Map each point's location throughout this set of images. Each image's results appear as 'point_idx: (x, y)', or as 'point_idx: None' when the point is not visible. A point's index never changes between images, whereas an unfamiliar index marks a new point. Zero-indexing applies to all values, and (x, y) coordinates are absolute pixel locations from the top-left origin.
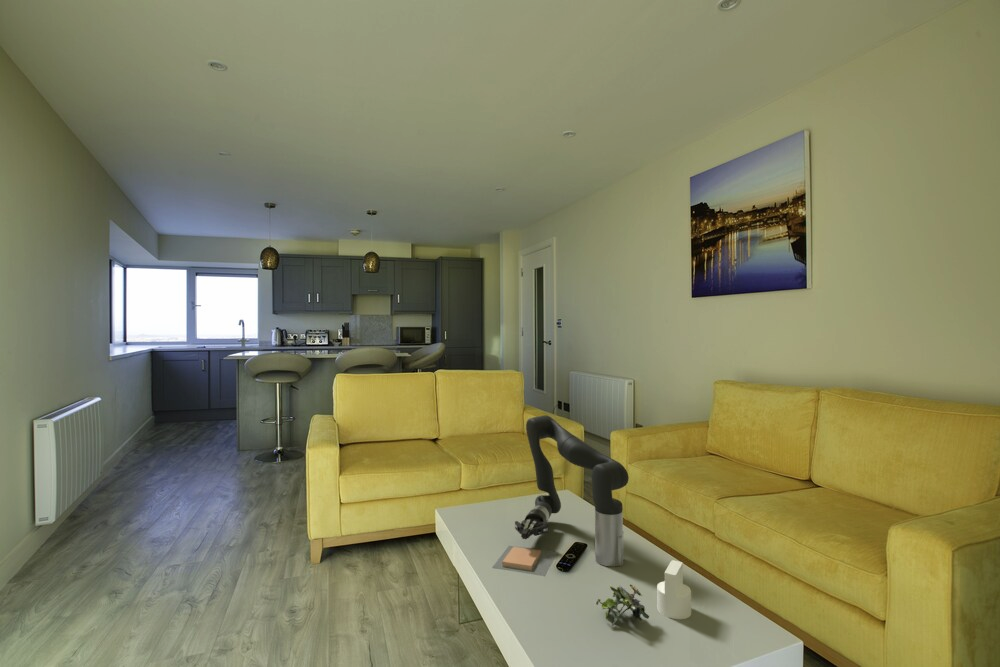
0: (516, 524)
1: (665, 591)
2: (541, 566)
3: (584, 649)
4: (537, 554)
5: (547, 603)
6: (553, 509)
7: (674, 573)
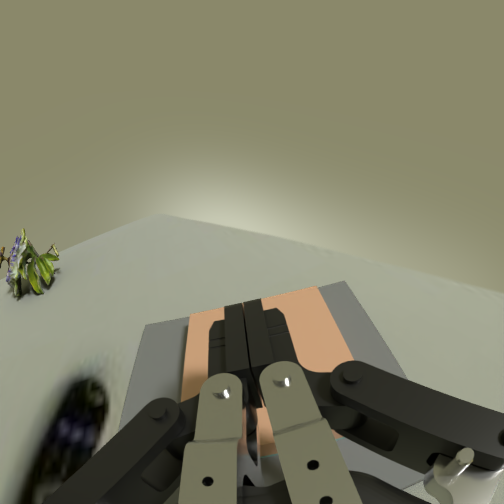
0: (464, 408)
1: None
2: (163, 368)
3: (101, 238)
4: None
5: (139, 264)
6: None
7: None
